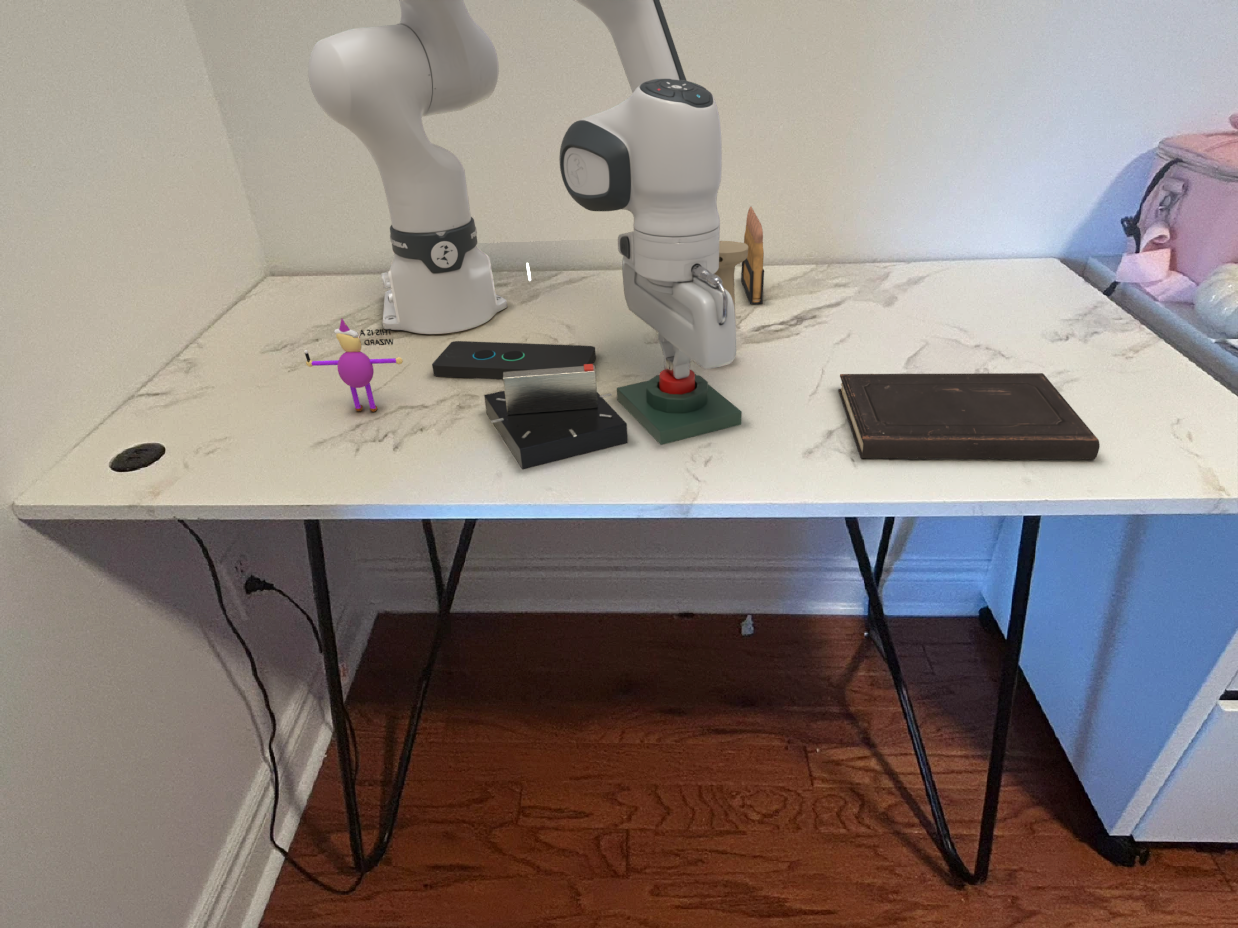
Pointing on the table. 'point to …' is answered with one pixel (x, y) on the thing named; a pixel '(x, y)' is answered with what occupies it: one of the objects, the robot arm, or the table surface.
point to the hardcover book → (963, 417)
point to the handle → (730, 263)
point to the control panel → (556, 431)
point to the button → (676, 383)
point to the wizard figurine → (355, 362)
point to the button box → (678, 410)
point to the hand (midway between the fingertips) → (676, 373)
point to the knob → (550, 389)
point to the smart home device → (507, 358)
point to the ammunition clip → (753, 260)
